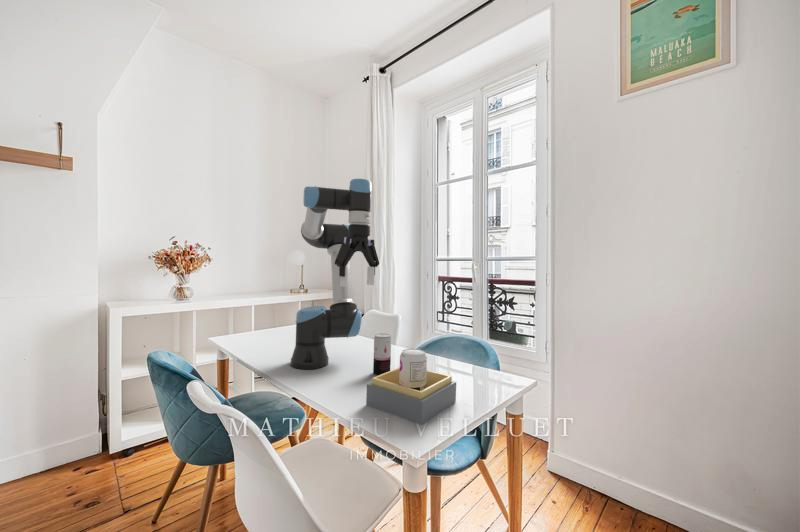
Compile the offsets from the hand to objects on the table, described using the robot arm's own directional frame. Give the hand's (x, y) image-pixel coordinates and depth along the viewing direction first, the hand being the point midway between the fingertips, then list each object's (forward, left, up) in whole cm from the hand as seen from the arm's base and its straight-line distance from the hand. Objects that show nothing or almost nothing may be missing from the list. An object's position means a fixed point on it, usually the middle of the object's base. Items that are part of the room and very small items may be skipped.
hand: (357, 285), depth 124 cm
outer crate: (+26, -2, -35) cm, 43 cm away
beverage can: (0, +15, -35) cm, 38 cm away
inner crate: (+26, -2, -34) cm, 42 cm away
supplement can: (+25, -2, -33) cm, 42 cm away
